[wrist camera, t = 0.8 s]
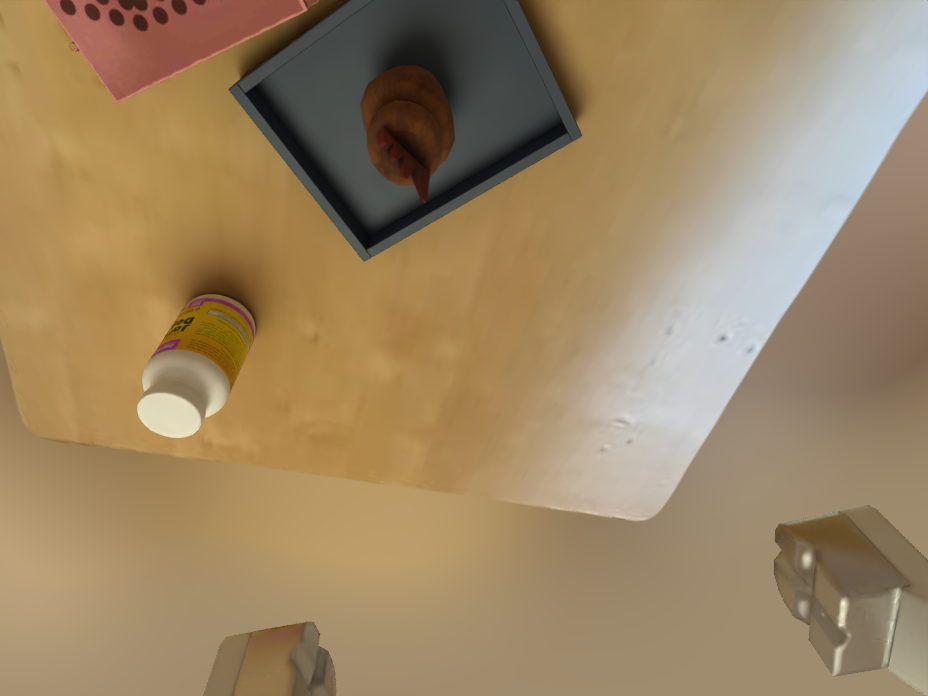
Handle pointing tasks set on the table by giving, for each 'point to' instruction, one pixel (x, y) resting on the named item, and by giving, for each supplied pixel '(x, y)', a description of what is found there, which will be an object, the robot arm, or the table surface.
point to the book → (162, 34)
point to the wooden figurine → (407, 126)
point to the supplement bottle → (195, 365)
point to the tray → (463, 81)
